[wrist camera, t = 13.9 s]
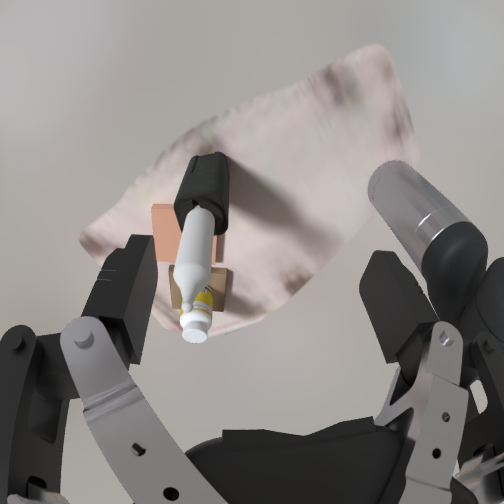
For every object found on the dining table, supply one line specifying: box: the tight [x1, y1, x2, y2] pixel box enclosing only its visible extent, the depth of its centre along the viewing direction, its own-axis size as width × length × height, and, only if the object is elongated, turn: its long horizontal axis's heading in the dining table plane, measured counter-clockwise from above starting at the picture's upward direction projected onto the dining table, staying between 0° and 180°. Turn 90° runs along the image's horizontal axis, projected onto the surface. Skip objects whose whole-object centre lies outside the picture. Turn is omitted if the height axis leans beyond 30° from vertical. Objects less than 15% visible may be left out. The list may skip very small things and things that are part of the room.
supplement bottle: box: [180, 286, 213, 343], centre depth 48 cm, size 5×5×10 cm
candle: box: [173, 152, 229, 313], centre depth 29 cm, size 5×5×25 cm
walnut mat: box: [169, 265, 227, 312], centre depth 52 cm, size 10×10×2 cm
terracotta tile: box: [151, 204, 217, 265], centre depth 44 cm, size 10×10×2 cm
